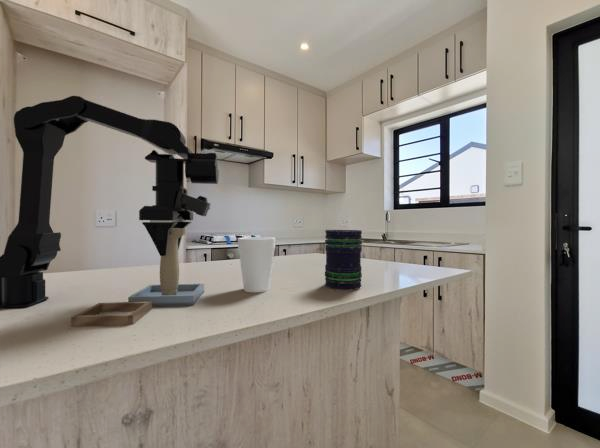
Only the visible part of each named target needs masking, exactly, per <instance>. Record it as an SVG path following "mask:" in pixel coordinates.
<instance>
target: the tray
mask: <svg viewBox="0 0 600 448" xmlns="http://www.w3.org/2000/svg"><path fill="white" fill-rule="evenodd" d="M161 291H162V289H161V285H160V284H148V285H147V286H145V287H143V288H141V289H140V290H138V291H137V292H134V293H133V294H132V295H129V296H128V298H127V302H152V307H178V306H180V307H181V306H182V307H183V306H184V307H186V306H194V305H195V304H196V303H197V301H199V299H200V298H201V296H202V295H203V294H204V293H205V283H179V284H178V288H177V295H162V293H161Z"/></svg>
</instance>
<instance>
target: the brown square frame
mask: <svg viewBox="0 0 600 448" xmlns="http://www.w3.org/2000/svg"><path fill="white" fill-rule="evenodd" d="M152 309H153V306H152V302H128V301H123V302H120V301H119V302H117V301H116V302H98V303H96V304H94V305H92V306H90V307H88V308H86V309H85V310H83V311H81V312H79V313H76V314H75V315H73V316H71V317H70V327H89V326H90V327H93V326H96V327H97V326H116V325H117V326H119V325H121V326H122V325H125V326H126V325H134V324H136V323H137V322H138V321H139V320H140V319H142V318H143V317H144V316H145V315H146V314H147V313H149V312H150V311H152ZM102 312H103V313H106V312H107V313H109V312H131V313H127V314H126V313H122V314H119V313H118V314H100V313H102Z"/></svg>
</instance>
